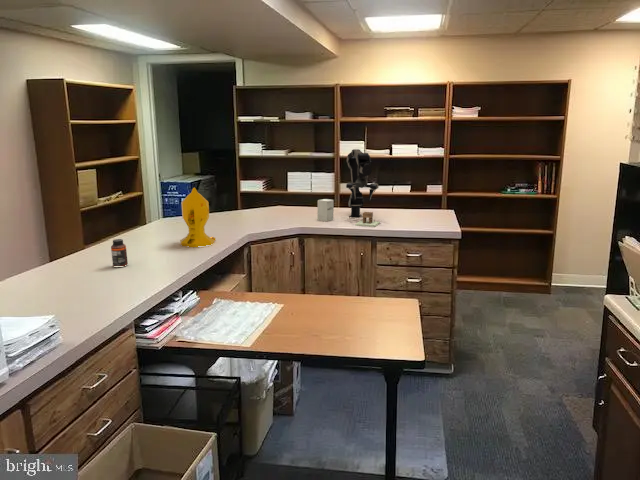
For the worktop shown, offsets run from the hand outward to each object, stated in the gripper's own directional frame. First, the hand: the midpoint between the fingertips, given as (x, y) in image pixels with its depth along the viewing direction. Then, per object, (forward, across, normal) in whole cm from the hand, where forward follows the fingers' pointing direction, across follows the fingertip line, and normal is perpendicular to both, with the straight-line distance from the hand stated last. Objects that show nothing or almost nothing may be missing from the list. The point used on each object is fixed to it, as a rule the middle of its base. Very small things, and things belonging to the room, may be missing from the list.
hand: (362, 200), depth 314 cm
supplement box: (+13, -22, -4) cm, 26 cm away
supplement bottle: (+13, -71, -131) cm, 150 cm away
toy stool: (+12, +6, -9) cm, 16 cm away
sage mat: (+13, +6, -9) cm, 17 cm away
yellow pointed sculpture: (+13, -62, -84) cm, 105 cm away
